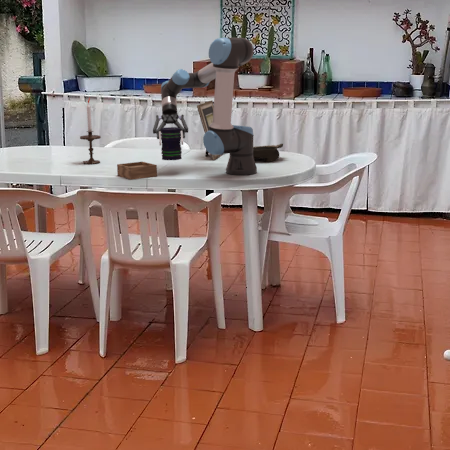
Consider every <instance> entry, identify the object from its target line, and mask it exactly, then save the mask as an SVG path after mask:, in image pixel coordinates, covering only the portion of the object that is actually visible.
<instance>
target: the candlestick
mask: <svg viewBox="0 0 450 450" xmlns="http://www.w3.org/2000/svg"><path fill="white" fill-rule="evenodd" d="M90 100H91V98H90V97H89V98H88V100H87V106H86V113H87V114H86V115H87V131H86V133H87V134H86V135H79V139H80V140H84V141H85V140H86V141H88V143H89V144H88V145H89V147H88V151H89V153H88V154H89V159H87V160H84V161H82V164H83V163H84V164H83V165H98V164H101V161H100V160H99V159H98V160H97V159H94V157H93V155H94V153H93V152H94V148H93V142H94V141H95V140H99V139H101V138H102V137H101V135H98V134H97V135H96V134H93V133H94V130H93V128H92V111H91V105H90Z"/></svg>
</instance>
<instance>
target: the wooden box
mask: <svg viewBox="0 0 450 450" xmlns="http://www.w3.org/2000/svg"><path fill="white" fill-rule="evenodd" d="M157 166H158V165H157V164H154V163H150V162H146V161H136V162H134V161H133V162H128V163H127V162H126V163H117V165H116V167H117V170H116V171H117V173H116V174H117V176H118V177H121V178H125V179H128V180H132V181H133V180H138V179H147V178H154V177H158V167H157Z"/></svg>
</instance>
